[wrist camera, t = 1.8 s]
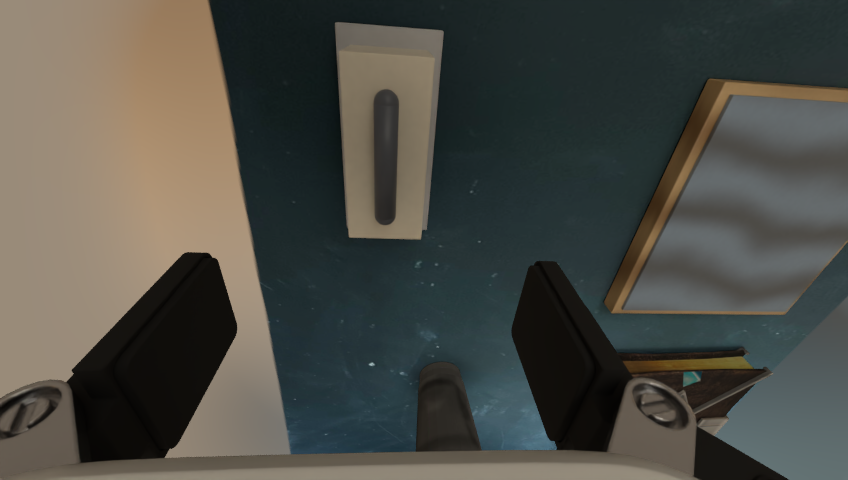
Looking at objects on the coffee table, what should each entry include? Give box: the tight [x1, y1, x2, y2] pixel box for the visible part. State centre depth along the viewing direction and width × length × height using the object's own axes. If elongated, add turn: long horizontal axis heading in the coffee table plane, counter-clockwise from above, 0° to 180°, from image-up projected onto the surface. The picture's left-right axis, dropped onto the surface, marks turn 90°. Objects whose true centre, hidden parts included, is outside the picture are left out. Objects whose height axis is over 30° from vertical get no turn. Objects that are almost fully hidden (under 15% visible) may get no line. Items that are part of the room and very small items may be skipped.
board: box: [604, 78, 848, 315], centre depth 28 cm, size 20×18×2 cm
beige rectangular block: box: [335, 22, 444, 239], centre depth 21 cm, size 13×6×7 cm, turn 176°
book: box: [617, 347, 773, 436], centre depth 42 cm, size 22×17×5 cm
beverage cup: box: [416, 362, 482, 452], centre depth 30 cm, size 7×7×20 cm
